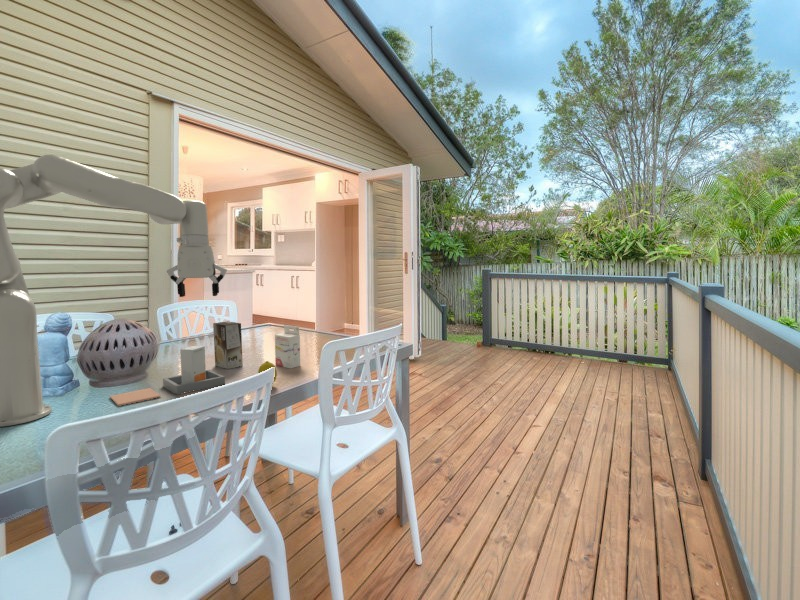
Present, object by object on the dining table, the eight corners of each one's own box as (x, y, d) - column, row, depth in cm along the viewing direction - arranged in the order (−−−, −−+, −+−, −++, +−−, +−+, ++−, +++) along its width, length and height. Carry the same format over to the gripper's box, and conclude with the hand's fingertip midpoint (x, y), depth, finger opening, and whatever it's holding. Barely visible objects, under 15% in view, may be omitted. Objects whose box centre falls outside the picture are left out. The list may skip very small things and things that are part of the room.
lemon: (258, 390, 122) (257, 364, 121) (258, 384, 127) (258, 359, 127) (277, 388, 124) (276, 362, 123) (277, 383, 129) (276, 358, 128)
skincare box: (193, 388, 123) (191, 350, 122) (181, 387, 124) (179, 349, 123) (207, 383, 129) (205, 345, 128) (195, 382, 130) (193, 345, 129)
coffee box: (243, 365, 151) (242, 323, 149) (227, 369, 146) (225, 325, 144) (230, 362, 156) (228, 320, 155) (214, 365, 151) (212, 322, 149)
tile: (118, 406, 108) (118, 404, 108) (109, 398, 115) (109, 395, 115) (160, 397, 115) (160, 395, 115) (149, 389, 122) (149, 388, 122)
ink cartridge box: (274, 365, 151) (273, 326, 150) (285, 362, 155) (284, 324, 154) (290, 368, 146) (289, 328, 145) (301, 365, 151) (300, 326, 149)
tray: (177, 394, 118) (176, 386, 117) (163, 386, 126) (162, 378, 126) (225, 384, 128) (224, 376, 128) (209, 377, 136) (209, 369, 136)
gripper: (160, 241, 121) (164, 298, 123) (221, 240, 124) (225, 296, 126) (169, 242, 129) (173, 295, 130) (227, 241, 132) (230, 294, 133)
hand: (198, 296), depth 128 cm, fingers open, 9 cm apart
